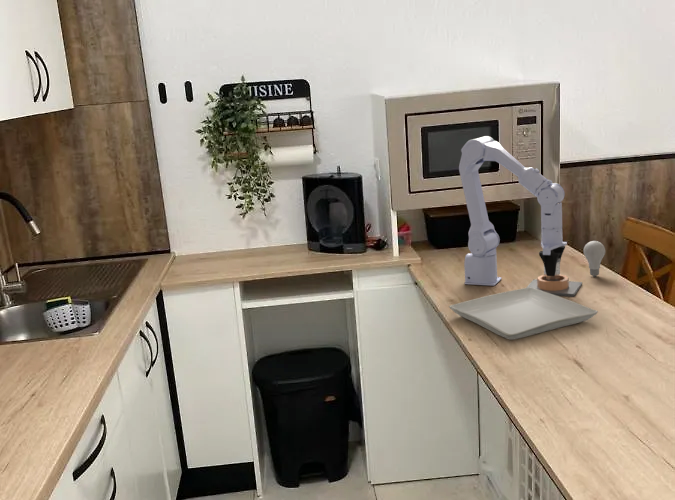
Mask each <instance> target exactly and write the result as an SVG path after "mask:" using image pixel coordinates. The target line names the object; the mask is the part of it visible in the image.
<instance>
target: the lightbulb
mask: <svg viewBox="0 0 675 500" xmlns="http://www.w3.org/2000/svg"><path fill="white" fill-rule="evenodd" d="M583 254H584V257H585V259H586V260H587V261H586V262H588V268H589V275H590V276H592V277H594V278H595V277H597V276H599V275H600V269H601V262H602V260H603V258H604V257H605V255H606V248H605V245H604V244H603V243H602V242H600V241H598V240H591V241H589V242H587V243H586V244H585V245H584V247H583Z"/></svg>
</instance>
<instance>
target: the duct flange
mask: <svg viewBox="0 0 675 500" xmlns="http://www.w3.org/2000/svg"><path fill="white" fill-rule="evenodd" d="M582 286H583V282H582V281H574V280H573V281H572V280H570V281H569V277H568V276H567V275H565V274H561V273H560V281H545V280H544V274H543V275H539V276H537V278H535V279H532V281H531V282H530V283H528V285H527V286H526V287H525V288H528V287H531V288H535V289H537V290H541V291H544V292H547V293H550V294H553V295H556V296H559V297H572V298H573V297H575V296H576V295H577V293H578V291H579V290H580V288H581V287H582Z"/></svg>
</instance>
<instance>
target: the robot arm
mask: <svg viewBox="0 0 675 500" xmlns="http://www.w3.org/2000/svg"><path fill="white" fill-rule="evenodd" d="M460 152H461V156H460V161H459V166H458V171H459V175H460V181H461V185H462V189H463V194H464V198H465V203H466V208H467V212H468V217H469V221H470V227H469V230H468V242H467V246H468V250H469V252H470V253H469V252H468V253H467V254H465V257H464V265H463V266H464V267H463V268H464V285H476V286H491V287H492V286H496V285H497V284H498V283H499V282H500V281H501V280H502V277H500V276H498V262H497V247H498V246H499V245H500V240H501V239H500V236H499V234H498V233H497V231H496V230H495V226H494V224H493V223H492V222H491V221H490V220H489V216H488V210H487V206H486V201H485V197H484V191H483V187H482V183H481V178H480V173H479V169H480V168H481V167H482V165H483V164H484V162H487V161H488V162H496V163H498V164H499V165H500V166H502V167H504V168H505V169H506V170H508V171H509V172H510V173H512V174H513V175H515V176H516V177H517V179H518V184H520V186H522V187H523V188H524V189H526V190H527V191H528V192H529V193H531V194H532V195H533V196H534V197H536V198H537V202H538V204H539V205H540V218H541V219H540V222H541V223H540V225H541V227H540V228H541V233H540V234H541V241H540V246H541V248H542V250H540V251H539V252H538V255H539V257H540V259H541V260H542V263H543V268H544V267H545V271H546V274H547V276H555V272H556V264H557V260H558V257H559V258H560V262H561V260H562V257H563V253H564V251H565V249H566V247H567V244H568V241H563V206H562V205H563V203H562V202H563V200H564V198H565V196H566V195H565V194H566V193H565V189H564V187H562V185H561V184H560V183H557V182H554V183H553V180H552V179H548V178H546V177H545V176H544V175H542V174H541V173H540V169H538V168H534V167H526V166H524V165H523V164H522V163H521V162H520V161H519V160H518V159H516V157H514V156H513V155H512V154H511V153H509V152H508V151H507V149H505V148H504V147H503V146H502V145H501V143H500V142H499V141H497V140H495V139H494V138H493V137H491V136H489V135H484V136H481V137H477V138H473V139H469V140H468V141H466V143H465V144H464V145H463V146H462V147H461V149H460Z"/></svg>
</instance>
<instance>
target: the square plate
mask: <svg viewBox="0 0 675 500" xmlns="http://www.w3.org/2000/svg"><path fill="white" fill-rule="evenodd" d="M448 308H449V309H451V310H452V311H453V312H454V313H455V314H457V315H458V316H460V317H462V318H463V319H466V320H469V321H471V322H473V323H475V324H477V325H479V326H480V327H483V328H484V329H486V330H489V331H490V332H492V333H494V334H495V335H498V336H500V337H503V338H505V339H507V340H517V339H518V340H519V339H522V338H526V337H530V336H533V335H538V334H540V333H544V332H548V331H552V330H557V329H559V328H563V327H567V326H572V325H576V324H579V323H583V322H586V321H588V320H590V319H591V318H593V317H595V316H596V315H597V314H598V313H599V311H598V310H597V309H593V308H591V307H588V306H585V305H583V304H580V303H579V302H575V301H572V300H570V299H567V298H564V297H563V296H556V295H553V294H550V293H547V292H544V291H541V290H537V289H535V288H531V287H528V288H526V287H523V288H519V289H513V290H508V291H503V292H498V293H493V294H490V295H485V296H481V297H478V298H472V299H470V300H465V301H461V302H459V303H455V304H451V305H449V306H448Z"/></svg>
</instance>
